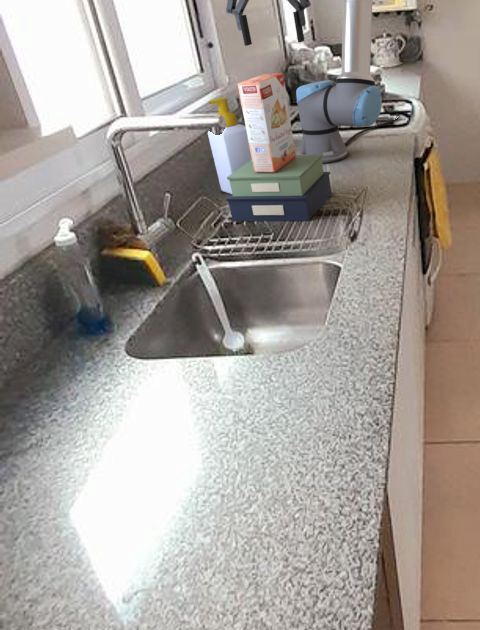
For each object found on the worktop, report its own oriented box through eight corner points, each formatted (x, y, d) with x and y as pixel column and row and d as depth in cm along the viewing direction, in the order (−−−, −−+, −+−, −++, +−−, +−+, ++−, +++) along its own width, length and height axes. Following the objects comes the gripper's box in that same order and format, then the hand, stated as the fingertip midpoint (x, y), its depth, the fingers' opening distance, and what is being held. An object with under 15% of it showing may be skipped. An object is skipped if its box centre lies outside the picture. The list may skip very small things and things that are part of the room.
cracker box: (276, 173, 146) (259, 82, 135) (253, 173, 147) (235, 83, 136) (298, 157, 157) (283, 72, 147) (276, 157, 159) (261, 73, 148)
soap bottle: (219, 191, 173) (197, 100, 160) (246, 183, 178) (227, 94, 166) (236, 197, 167) (215, 103, 155) (263, 188, 173) (245, 96, 160)
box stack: (262, 194, 168) (254, 154, 163) (333, 193, 165) (327, 153, 159) (231, 221, 151) (220, 178, 145) (309, 221, 147) (302, 177, 142)
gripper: (197, -55, 134) (220, 48, 145) (303, -65, 130) (319, 42, 141) (211, -55, 141) (233, 44, 152) (314, -65, 137) (328, 38, 148)
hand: (274, 43), depth 146 cm, fingers open, 13 cm apart
